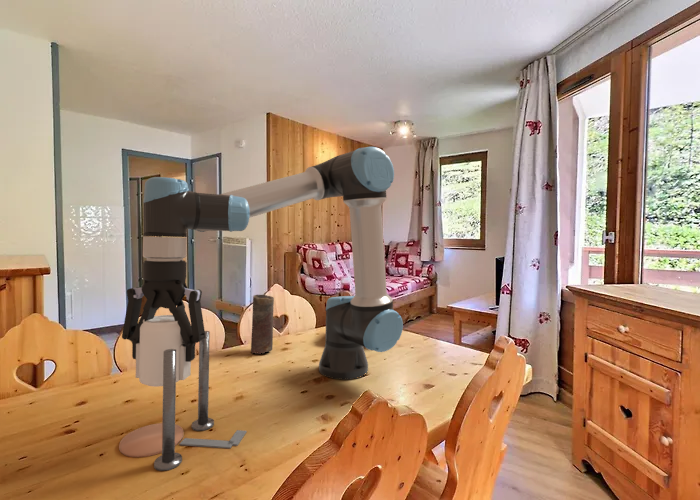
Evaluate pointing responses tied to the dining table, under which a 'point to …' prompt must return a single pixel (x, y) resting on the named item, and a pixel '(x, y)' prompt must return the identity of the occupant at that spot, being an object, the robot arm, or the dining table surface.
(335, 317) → the robot arm
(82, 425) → the dining table surface
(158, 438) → the pad
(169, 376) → the gate posts
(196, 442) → the strip
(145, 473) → the dining table surface
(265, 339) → the candle
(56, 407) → the dining table surface
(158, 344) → the beverage can
